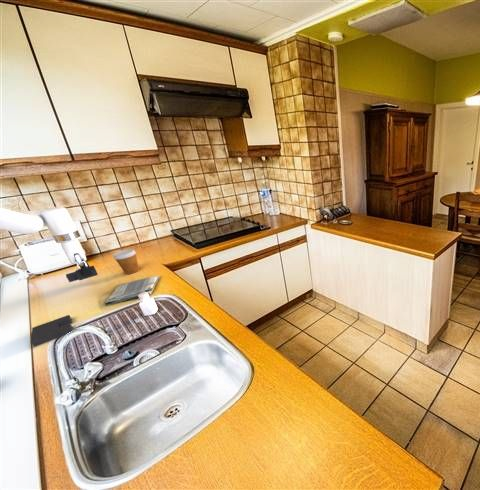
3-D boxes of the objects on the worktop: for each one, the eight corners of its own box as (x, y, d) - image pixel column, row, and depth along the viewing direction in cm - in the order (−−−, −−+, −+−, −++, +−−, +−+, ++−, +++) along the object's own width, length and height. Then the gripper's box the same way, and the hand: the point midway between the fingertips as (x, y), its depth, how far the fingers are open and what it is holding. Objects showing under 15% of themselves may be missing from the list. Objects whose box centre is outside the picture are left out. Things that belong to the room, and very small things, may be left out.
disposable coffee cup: (140, 266, 155) (132, 247, 150) (145, 270, 149) (136, 251, 144) (119, 272, 148) (110, 253, 143) (123, 277, 142) (114, 257, 138)
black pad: (97, 275, 120) (94, 269, 119) (69, 283, 114) (66, 277, 113) (96, 271, 124) (93, 265, 123) (69, 279, 118) (65, 273, 117)
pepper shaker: (143, 316, 110) (134, 297, 106) (148, 311, 114) (139, 292, 110) (154, 314, 111) (146, 295, 107) (159, 309, 114) (150, 290, 111)
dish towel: (118, 287, 133) (115, 282, 132) (160, 278, 140) (158, 272, 139) (103, 307, 118) (100, 301, 116) (152, 295, 124) (150, 290, 123)
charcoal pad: (74, 333, 102) (70, 327, 101) (35, 348, 96) (30, 342, 94) (72, 320, 110) (69, 314, 109) (36, 333, 103) (32, 327, 102)
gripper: (54, 234, 115) (74, 271, 122) (54, 244, 104) (76, 283, 112) (78, 229, 120) (96, 264, 127) (81, 238, 110) (100, 275, 117)
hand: (87, 273), depth 119 cm, fingers closed on black pad, 6 cm apart
